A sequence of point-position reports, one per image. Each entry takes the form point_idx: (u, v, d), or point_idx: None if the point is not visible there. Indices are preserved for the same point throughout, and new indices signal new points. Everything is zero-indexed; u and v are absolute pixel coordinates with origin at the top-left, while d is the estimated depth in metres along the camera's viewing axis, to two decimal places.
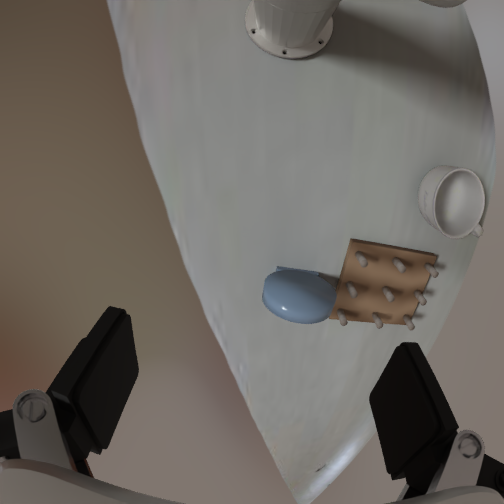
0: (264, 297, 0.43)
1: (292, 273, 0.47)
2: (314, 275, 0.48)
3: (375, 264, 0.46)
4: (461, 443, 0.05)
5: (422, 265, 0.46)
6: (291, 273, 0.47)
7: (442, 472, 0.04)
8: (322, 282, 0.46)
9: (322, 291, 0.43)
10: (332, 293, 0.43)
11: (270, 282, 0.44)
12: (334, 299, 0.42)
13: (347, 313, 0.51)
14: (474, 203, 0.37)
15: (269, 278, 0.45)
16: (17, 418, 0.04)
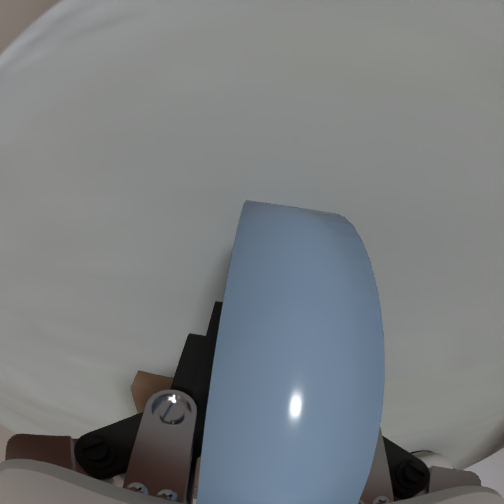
0: (288, 257, 0.05)
1: None
2: None
3: None
4: None
5: None
6: None
7: None
8: None
9: None
10: None
11: None
12: None
13: None
14: None
15: None
16: (156, 423, 0.05)
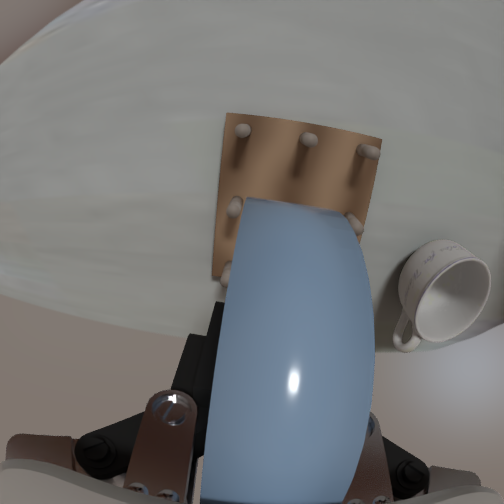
0: (286, 245, 0.05)
1: None
2: None
3: (342, 182, 0.27)
4: None
5: None
6: None
7: None
8: None
9: None
10: None
11: None
12: None
13: (239, 146, 0.26)
14: (435, 327, 0.29)
15: None
16: (157, 423, 0.05)
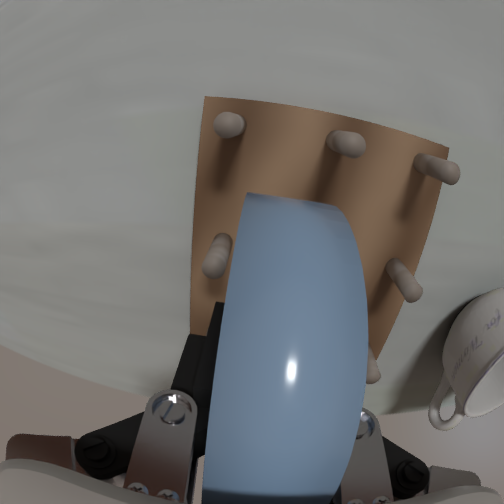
0: (284, 235, 0.06)
1: None
2: None
3: (390, 213, 0.17)
4: None
5: None
6: None
7: None
8: None
9: None
10: None
11: None
12: None
13: (225, 152, 0.16)
14: (479, 395, 0.19)
15: None
16: (157, 423, 0.05)
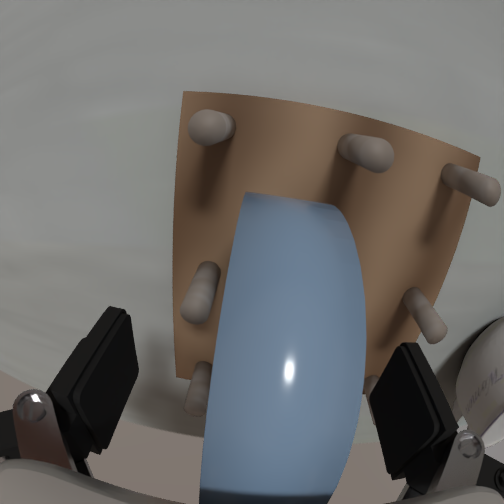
0: (283, 235, 0.06)
1: None
2: None
3: (412, 236, 0.13)
4: (461, 443, 0.05)
5: (375, 370, 0.17)
6: None
7: (442, 472, 0.04)
8: None
9: None
10: None
11: None
12: None
13: (209, 161, 0.13)
14: None
15: None
16: (17, 418, 0.04)
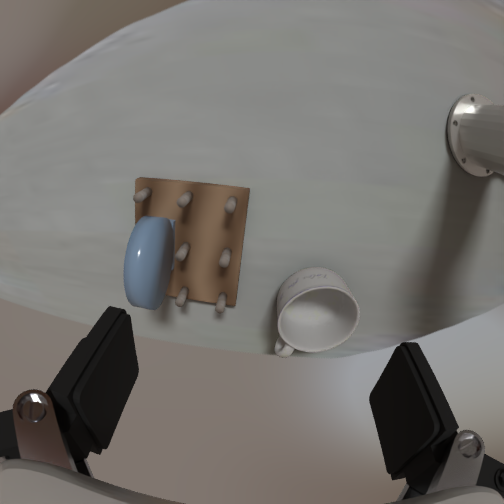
0: (143, 225, 0.31)
1: (171, 242, 0.38)
2: (171, 266, 0.39)
3: (219, 226, 0.38)
4: (461, 443, 0.05)
5: (222, 289, 0.42)
6: (170, 241, 0.37)
7: (442, 472, 0.04)
8: (167, 280, 0.38)
9: (160, 289, 0.35)
10: (160, 300, 0.36)
11: (161, 226, 0.33)
12: (156, 307, 0.34)
13: (145, 202, 0.37)
14: (313, 339, 0.40)
15: (165, 221, 0.34)
16: (17, 418, 0.04)
